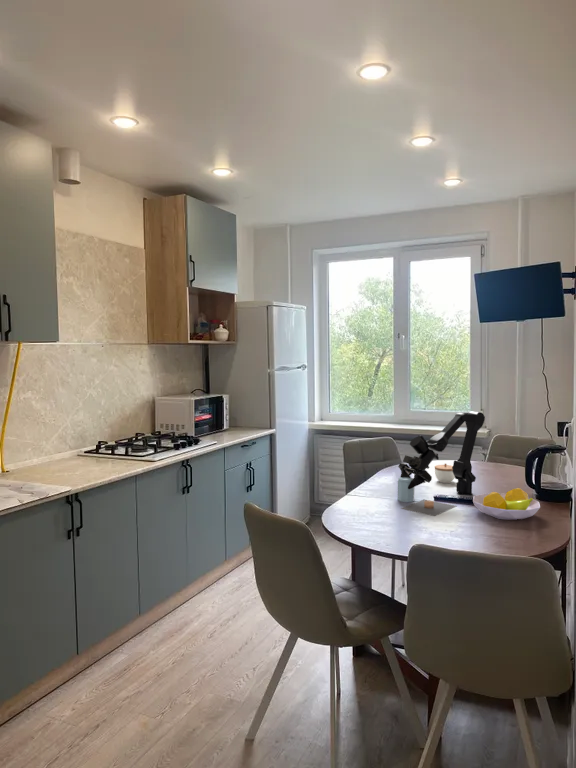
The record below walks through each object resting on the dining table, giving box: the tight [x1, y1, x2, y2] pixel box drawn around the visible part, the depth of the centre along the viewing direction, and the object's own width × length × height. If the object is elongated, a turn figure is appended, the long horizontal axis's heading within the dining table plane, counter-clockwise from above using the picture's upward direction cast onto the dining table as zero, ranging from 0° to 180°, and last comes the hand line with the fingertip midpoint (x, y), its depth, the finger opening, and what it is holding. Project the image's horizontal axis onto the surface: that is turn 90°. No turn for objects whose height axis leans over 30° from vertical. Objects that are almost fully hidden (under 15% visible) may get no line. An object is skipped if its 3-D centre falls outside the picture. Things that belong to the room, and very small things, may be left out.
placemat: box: [400, 499, 457, 517], centre depth 249 cm, size 20×16×1 cm
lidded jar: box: [434, 463, 455, 484], centre depth 298 cm, size 11×11×9 cm
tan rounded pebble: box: [424, 499, 435, 509], centre depth 249 cm, size 4×4×2 cm
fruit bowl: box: [472, 487, 541, 520], centre depth 238 cm, size 28×27×11 cm
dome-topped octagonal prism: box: [397, 476, 415, 503], centre depth 261 cm, size 7×7×10 cm
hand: (403, 486), depth 260 cm, fingers closed on dome-topped octagonal prism, 7 cm apart
